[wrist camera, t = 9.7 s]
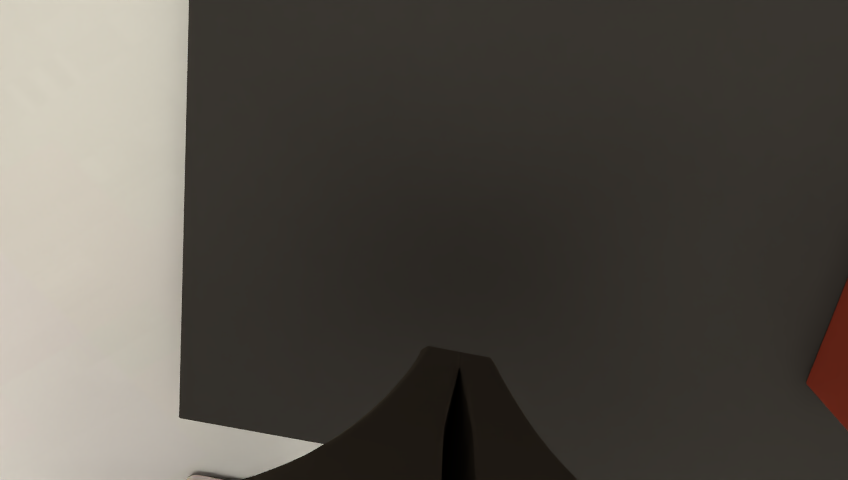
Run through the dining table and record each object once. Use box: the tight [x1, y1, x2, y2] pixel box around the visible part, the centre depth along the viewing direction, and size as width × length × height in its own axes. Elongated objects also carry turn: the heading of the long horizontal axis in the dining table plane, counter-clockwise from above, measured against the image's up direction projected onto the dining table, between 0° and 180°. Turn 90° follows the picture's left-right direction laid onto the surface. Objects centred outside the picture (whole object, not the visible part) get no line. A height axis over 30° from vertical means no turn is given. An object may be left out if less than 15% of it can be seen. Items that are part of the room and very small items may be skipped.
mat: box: [179, 0, 848, 480], centre depth 20 cm, size 18×26×1 cm
